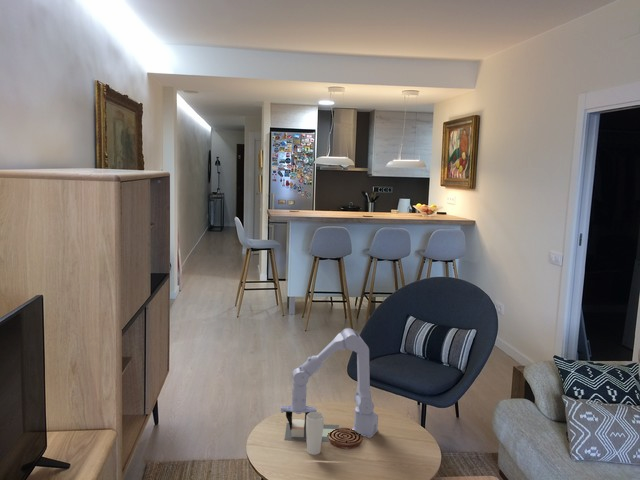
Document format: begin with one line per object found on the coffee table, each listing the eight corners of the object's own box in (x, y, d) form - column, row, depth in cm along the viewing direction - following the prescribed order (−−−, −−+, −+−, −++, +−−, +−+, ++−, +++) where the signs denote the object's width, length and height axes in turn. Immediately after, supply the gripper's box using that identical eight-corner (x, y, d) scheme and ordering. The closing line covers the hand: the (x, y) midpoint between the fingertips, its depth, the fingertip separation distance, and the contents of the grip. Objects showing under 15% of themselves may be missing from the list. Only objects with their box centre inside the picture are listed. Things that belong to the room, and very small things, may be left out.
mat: (338, 426, 225) (338, 424, 225) (339, 443, 211) (339, 442, 211) (286, 424, 225) (286, 422, 225) (284, 441, 211) (284, 439, 211)
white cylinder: (324, 449, 206) (326, 413, 204) (318, 458, 200) (320, 421, 198) (308, 446, 209) (309, 410, 206) (302, 454, 202) (303, 417, 200)
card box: (292, 426, 222) (292, 419, 222) (304, 426, 222) (304, 419, 222) (291, 436, 214) (291, 429, 213) (303, 437, 214) (303, 429, 213)
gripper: (280, 401, 212) (279, 433, 214) (317, 402, 212) (315, 434, 214) (281, 393, 219) (280, 424, 221) (317, 395, 219) (315, 426, 221)
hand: (298, 429), depth 218 cm, fingers closed on card box, 5 cm apart
